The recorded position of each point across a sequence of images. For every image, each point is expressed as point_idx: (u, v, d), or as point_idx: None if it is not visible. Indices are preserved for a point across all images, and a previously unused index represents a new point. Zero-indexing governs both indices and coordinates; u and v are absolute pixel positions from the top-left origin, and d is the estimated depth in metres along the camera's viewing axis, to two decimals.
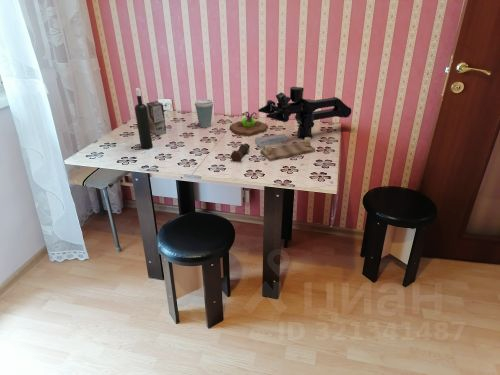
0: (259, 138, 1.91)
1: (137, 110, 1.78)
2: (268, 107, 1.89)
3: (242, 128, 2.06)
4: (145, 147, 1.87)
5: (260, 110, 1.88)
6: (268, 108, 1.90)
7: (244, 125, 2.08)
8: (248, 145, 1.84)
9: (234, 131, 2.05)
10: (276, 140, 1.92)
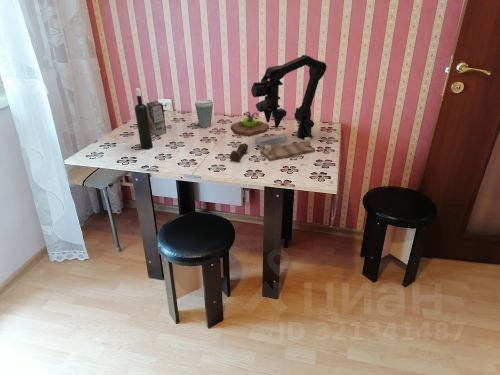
0: (259, 138, 1.91)
1: (137, 110, 1.78)
2: (266, 111, 1.90)
3: (243, 128, 2.06)
4: (145, 147, 1.87)
5: (268, 120, 1.92)
6: (267, 111, 1.90)
7: (245, 125, 2.08)
8: (246, 145, 1.84)
9: (235, 131, 2.05)
10: (276, 140, 1.92)
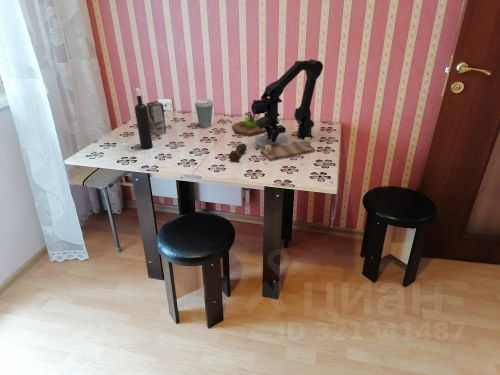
0: (259, 138, 1.91)
1: (137, 110, 1.78)
2: (268, 128, 1.92)
3: (243, 128, 2.06)
4: (145, 147, 1.87)
5: None
6: (269, 128, 1.92)
7: (246, 125, 2.08)
8: (245, 145, 1.84)
9: (235, 131, 2.06)
10: (276, 139, 1.92)
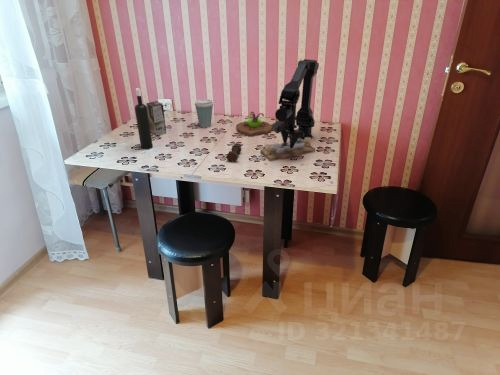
0: (275, 145, 1.80)
1: (137, 110, 1.78)
2: (283, 132, 1.81)
3: (246, 128, 2.06)
4: (145, 147, 1.87)
5: (285, 141, 1.83)
6: (284, 132, 1.81)
7: (249, 125, 2.08)
8: (239, 145, 1.84)
9: (238, 130, 2.07)
10: (293, 146, 1.80)
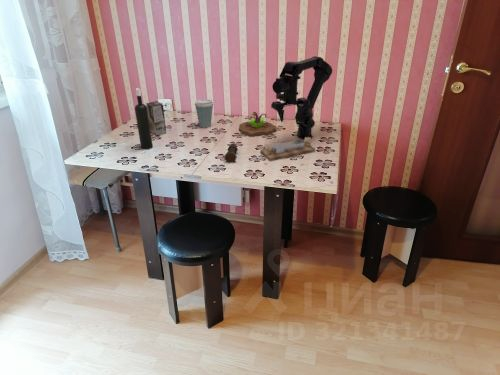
0: (275, 145, 1.80)
1: (137, 110, 1.78)
2: (298, 107, 1.87)
3: (248, 128, 2.06)
4: (145, 147, 1.87)
5: (297, 117, 1.89)
6: (298, 107, 1.87)
7: (251, 125, 2.08)
8: (235, 145, 1.84)
9: (239, 130, 2.07)
10: (293, 146, 1.80)
